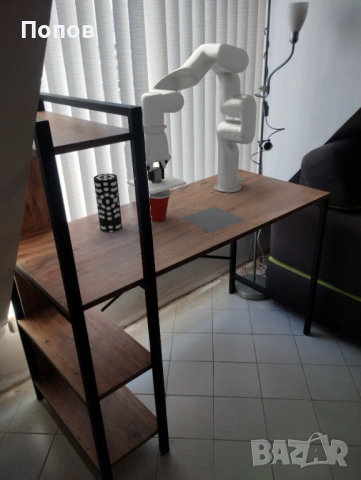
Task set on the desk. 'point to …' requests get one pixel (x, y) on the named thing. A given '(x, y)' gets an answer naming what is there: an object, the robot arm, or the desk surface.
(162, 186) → the lid
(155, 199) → the plastic cup
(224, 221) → the mat
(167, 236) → the desk surface
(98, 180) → the white-spotted black cylinder
